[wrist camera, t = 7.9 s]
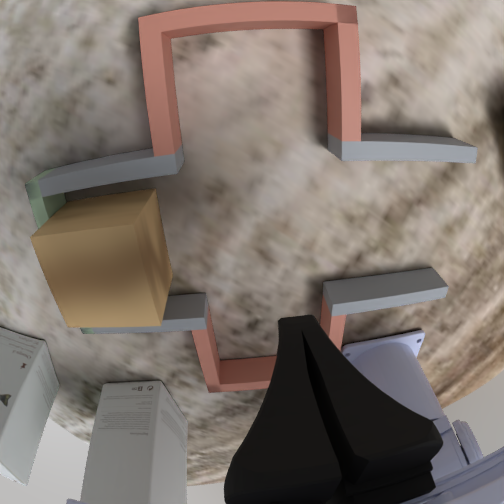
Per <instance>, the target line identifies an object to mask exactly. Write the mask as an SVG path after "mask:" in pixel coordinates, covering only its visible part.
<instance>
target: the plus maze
mask: <svg viewBox="0 0 504 504" xmlns="http://www.w3.org/2000/svg"><path fill="white" fill-rule="evenodd" d="M138 21H139V35H140V47H141V58H142V68H143V77H144V86H145V94H146V102H147V110H148V118H149V125H150V132H151V138H152V145H153V148H150V149H144V150H138V151H133V152H127V153H122V154H116V155H111V156H106V157H101V158H97V159H92V160H87V161H83V162H78V163H74V164H70V165H65V166H61V167H57V168H53V169H49V170H46V171H44V172H42V173H41V174H39V175H38V176H36V177H35V178H33V179H31V180H30V181H28V182H27V183H25V186H26V190H27V194H28V197H29V201H30V204H31V207H32V211H33V214H34V217H35V220H36V223H37V226H38V229H39V228H40V227H41V226H42V225H43V224H44V223H45V222H46V221H47V220H48V219H49V218H51V217H52V216H53V215H54V214H55V213H56V212H57V211H58V210H59V209H60V208H61V207H62V206H63V205H64V204H66V203H67V202H66V198H65V195H64V193H65V192H69V191H74V190H79V189H85V188H90V187H95V186H101V185H107V184H112V183H118V182H124V181H130V180H137V179H143V178H150V177H157V176H164V175H172V174H178V172H179V170H180V168H181V166H182V165H183V163H184V155H183V147H182V140H181V132H180V124H179V116H178V107H177V98H176V89H175V80H174V70H173V60H172V49H171V38H177V37H184V36H191V35H198V34H206V33H215V32H225V31H237V30H253V29H321V30H323V33H324V48H325V65H326V87H327V123H328V151H330V152H331V153H332V154H334V155H335V156H336V157H337V158H339V159H340V160H341V161H366V160H402V161H440V162H461V163H476V156H477V147H475V146H473V145H470V144H468V143H465V142H463V141H461V140H458V139H456V138H449V137H438V136H425V135H409V134H387V133H361V77H360V53H359V36H358V23H357V11H356V6H350V5H341V4H330V3H316V2H288V1H271V2H243V3H229V4H218V5H208V6H200V7H193V8H186V9H179V10H173V11H168V12H162V13H157V14H152V15H148V16H143V17H139V18H138ZM448 287H449V286H448V285H447V284H446V283H445V281H444V280H443V279H442V278H441V277H440V276H439V274H438V273H437V272H436V271H435V270H434V269H433V268H427V269H420V270H413V271H405V272H398V273H390V274H383V275H375V276H367V277H359V278H351V279H342V280H334V281H325V282H323V296H322V309H321V320H320V326H321V327H322V329H323V330H324V331H325V333H326V334H327V335H328V337H329V338H330V339H331V341H332V342H333V343H334V344H335V346H336V347H337V348H338V349H339V350H341V344H342V338H343V332H344V326H345V319H346V314H353V313H360V312H366V311H373V310H379V309H385V308H391V307H397V306H403V305H408V304H414V303H419V302H425V301H430V300H435V299H440V298H445V296H446V293H447V290H448ZM80 329H81V331H82V333H83V334H104V333H145V332H168V331H187V330H191V331H192V335H193V339H194V342H195V346H196V350H197V353H198V357H199V360H200V364H201V367H202V371H203V374H204V378H205V381H206V385H207V388H208V391H209V393H211V392H228V391H242V390H254V389H265V388H268V387H269V384H270V381H271V377H272V374H273V370H274V366H275V362H276V357H277V356H268V357H258V358H247V359H235V360H221V361H220V359H219V354H218V349H217V345H216V340H215V335H214V330H213V325H212V320H211V315H210V310H209V305H208V300H207V295H206V293H200V294H187V295H174V296H168V298H167V302H166V306H165V311H164V315H163V319H162V324H161V326H147V327H80Z"/></svg>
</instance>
